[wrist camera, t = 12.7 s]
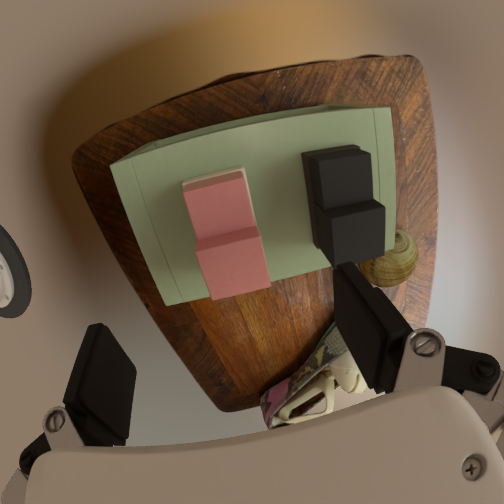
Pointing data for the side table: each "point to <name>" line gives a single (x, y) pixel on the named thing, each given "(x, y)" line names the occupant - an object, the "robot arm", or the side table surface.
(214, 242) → the pink stepped block
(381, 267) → the seashell
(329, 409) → the ballet flat
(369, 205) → the black stepped block
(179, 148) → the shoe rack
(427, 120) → the side table surface
